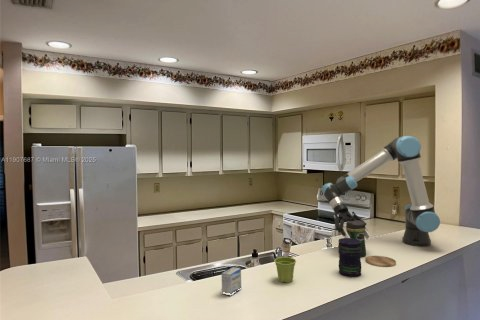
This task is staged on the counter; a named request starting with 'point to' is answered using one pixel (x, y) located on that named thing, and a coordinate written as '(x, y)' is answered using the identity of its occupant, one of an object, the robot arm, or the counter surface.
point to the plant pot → (285, 268)
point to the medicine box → (231, 280)
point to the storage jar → (349, 257)
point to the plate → (380, 261)
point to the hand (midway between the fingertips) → (359, 239)
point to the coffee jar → (357, 233)
